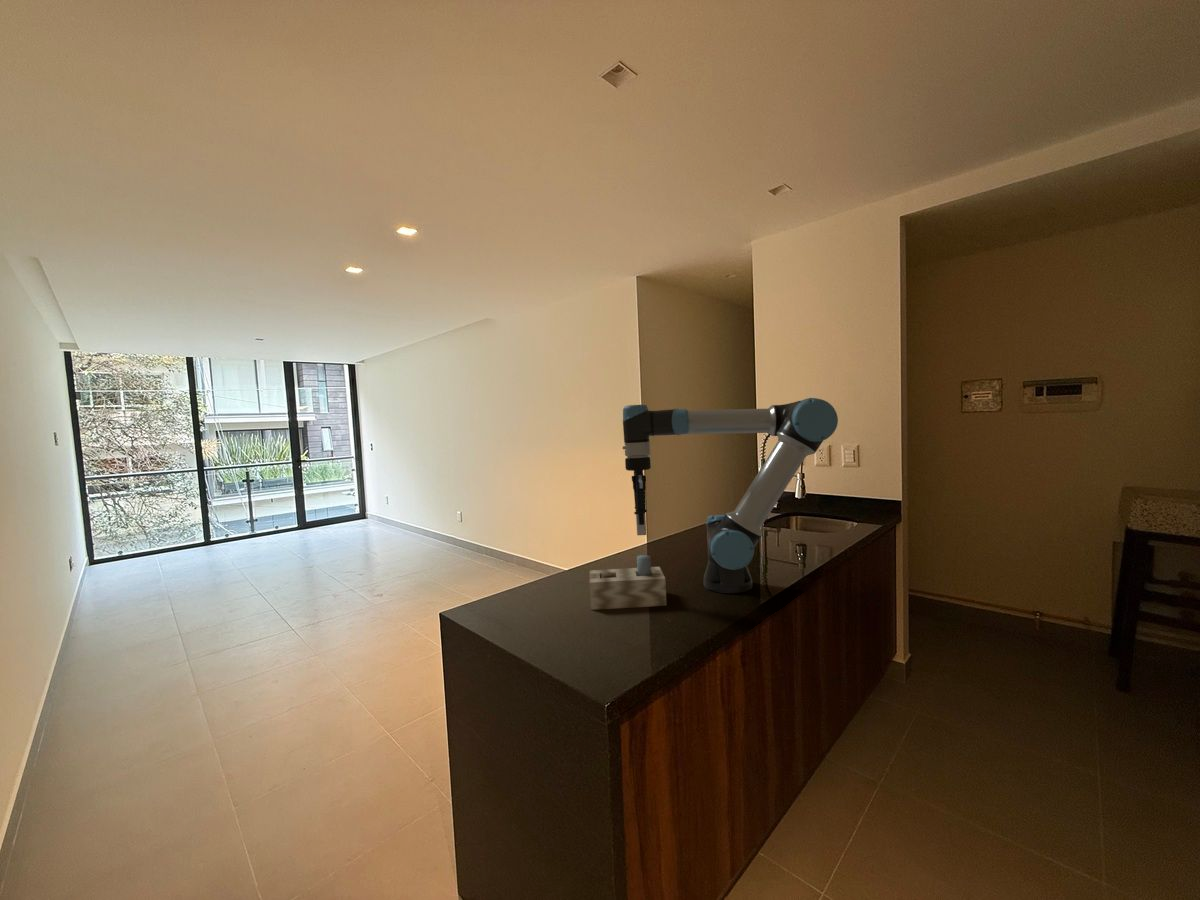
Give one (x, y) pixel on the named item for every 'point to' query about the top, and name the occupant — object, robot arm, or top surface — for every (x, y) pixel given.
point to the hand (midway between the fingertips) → (641, 534)
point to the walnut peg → (607, 575)
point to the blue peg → (643, 565)
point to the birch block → (627, 589)
